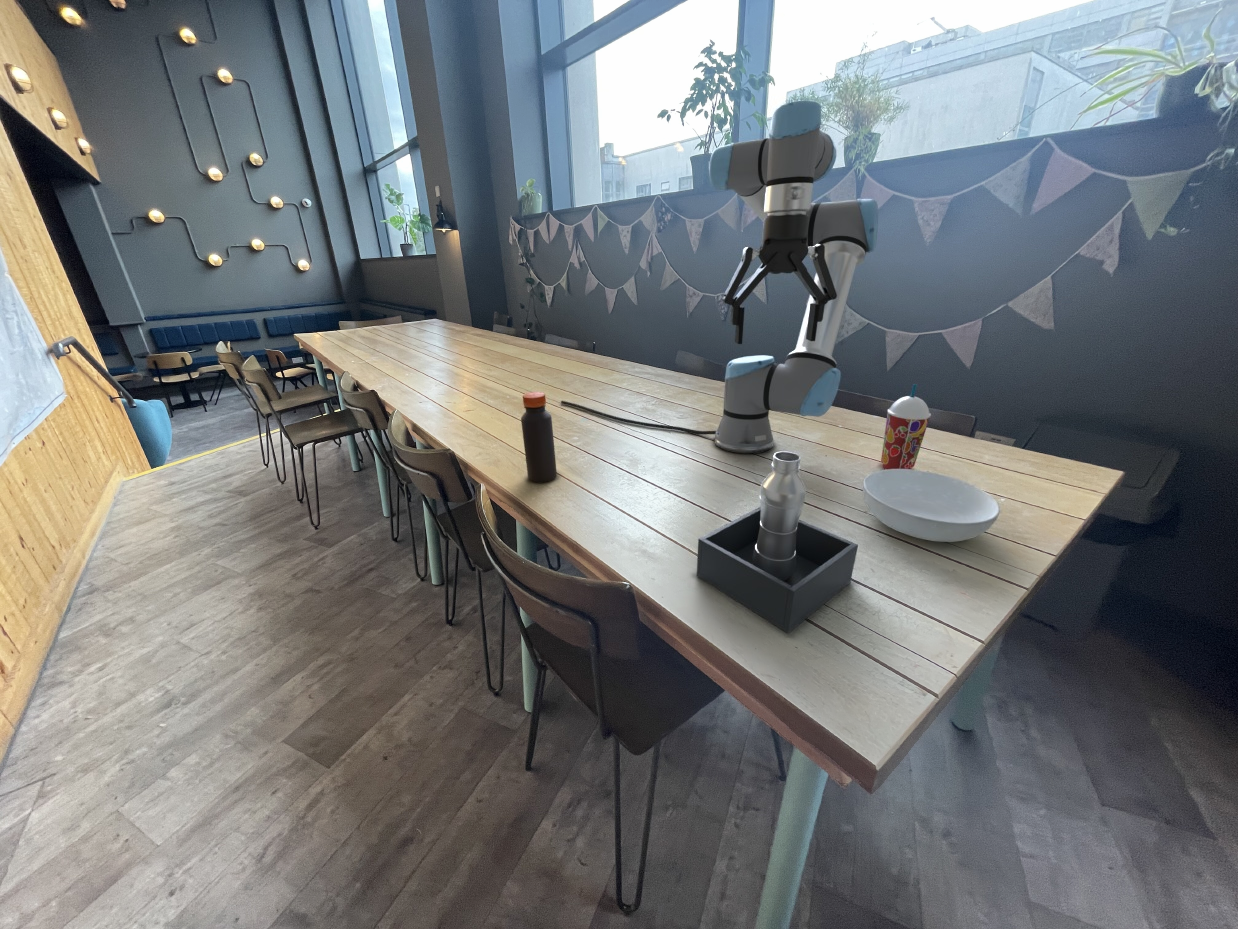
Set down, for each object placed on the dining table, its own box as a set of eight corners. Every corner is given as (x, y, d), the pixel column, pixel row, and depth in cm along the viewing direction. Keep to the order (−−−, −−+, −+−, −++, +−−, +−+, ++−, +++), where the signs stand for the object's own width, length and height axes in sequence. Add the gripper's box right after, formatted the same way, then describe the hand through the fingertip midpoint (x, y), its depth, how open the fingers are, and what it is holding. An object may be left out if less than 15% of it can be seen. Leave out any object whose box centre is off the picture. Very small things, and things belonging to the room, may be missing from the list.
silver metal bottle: (794, 565, 75) (811, 449, 67) (794, 591, 69) (812, 468, 61) (752, 558, 77) (764, 445, 69) (749, 583, 71) (761, 463, 63)
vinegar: (540, 485, 107) (531, 400, 99) (522, 478, 111) (512, 395, 103) (562, 476, 111) (555, 394, 103) (544, 468, 116) (536, 389, 108)
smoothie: (922, 476, 105) (944, 389, 97) (882, 474, 107) (900, 388, 99) (909, 462, 113) (928, 380, 105) (871, 460, 114) (888, 379, 106)
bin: (696, 575, 75) (698, 538, 72) (760, 538, 84) (763, 504, 82) (787, 633, 63) (794, 591, 60) (850, 583, 72) (858, 544, 69)
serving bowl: (936, 571, 74) (946, 534, 72) (832, 512, 92) (838, 481, 89) (1016, 539, 82) (1029, 504, 79) (906, 490, 99) (913, 461, 97)
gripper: (717, 216, 77) (712, 347, 85) (870, 209, 77) (849, 342, 85) (709, 219, 84) (705, 340, 92) (849, 213, 83) (832, 335, 92)
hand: (774, 341), depth 89 cm, fingers open, 13 cm apart
